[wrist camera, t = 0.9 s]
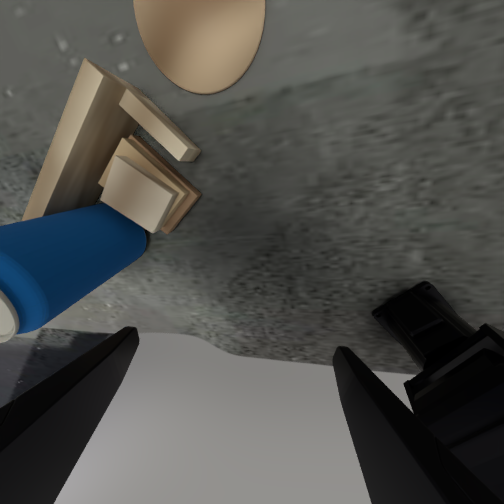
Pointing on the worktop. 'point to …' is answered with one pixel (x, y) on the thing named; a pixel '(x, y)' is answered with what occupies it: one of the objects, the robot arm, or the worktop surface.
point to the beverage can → (60, 262)
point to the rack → (97, 140)
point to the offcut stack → (146, 187)
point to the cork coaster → (201, 39)
